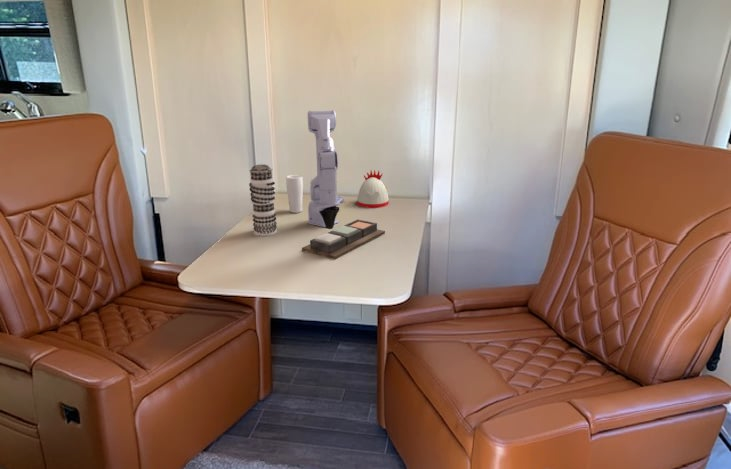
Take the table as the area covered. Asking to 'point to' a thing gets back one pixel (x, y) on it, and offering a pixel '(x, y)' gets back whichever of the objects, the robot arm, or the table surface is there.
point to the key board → (345, 241)
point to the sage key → (345, 230)
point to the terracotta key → (360, 225)
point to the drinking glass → (295, 192)
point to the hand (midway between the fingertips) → (329, 228)
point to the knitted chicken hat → (373, 192)
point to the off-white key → (328, 238)
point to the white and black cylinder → (263, 200)
